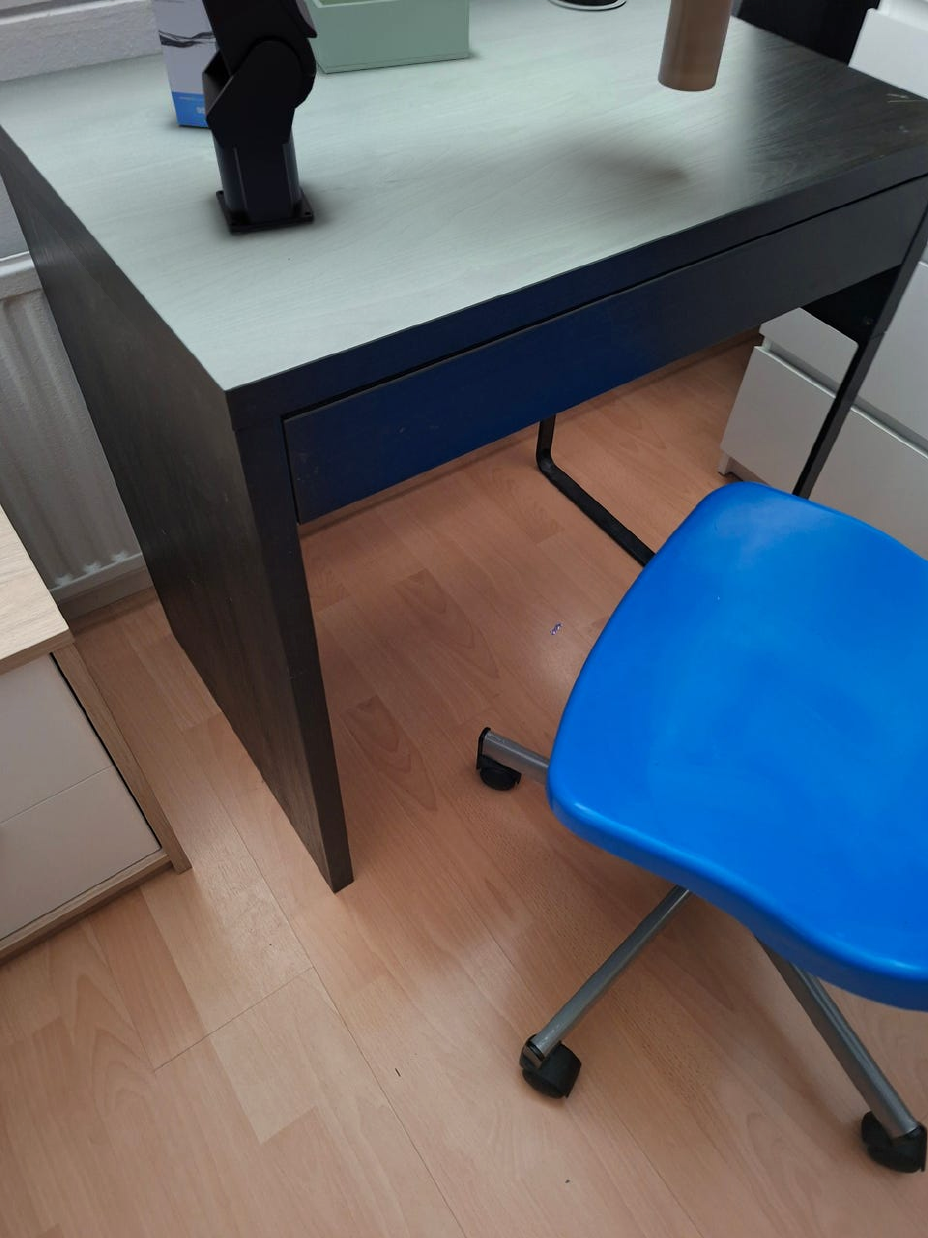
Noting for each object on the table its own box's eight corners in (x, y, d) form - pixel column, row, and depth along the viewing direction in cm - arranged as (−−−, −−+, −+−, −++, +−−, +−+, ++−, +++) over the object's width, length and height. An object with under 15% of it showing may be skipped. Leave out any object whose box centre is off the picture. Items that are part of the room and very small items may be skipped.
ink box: (228, 131, 75) (198, -34, 66) (176, 125, 75) (138, -38, 66) (262, 96, 80) (238, -61, 71) (212, 91, 81) (182, -65, 72)
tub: (468, 57, 87) (469, -7, 83) (325, 73, 84) (318, 7, 80) (423, 13, 97) (422, -47, 92) (292, 26, 93) (284, -36, 89)
